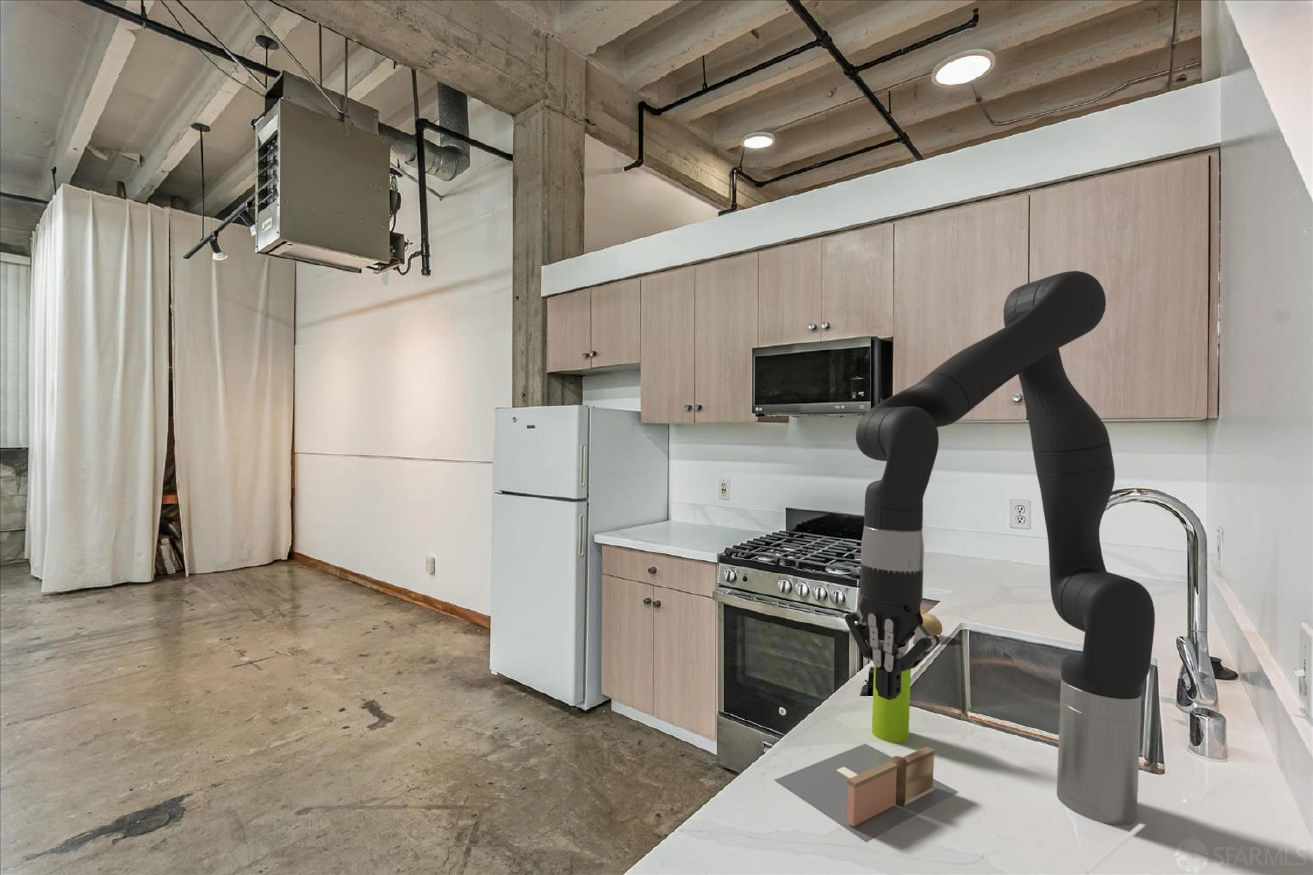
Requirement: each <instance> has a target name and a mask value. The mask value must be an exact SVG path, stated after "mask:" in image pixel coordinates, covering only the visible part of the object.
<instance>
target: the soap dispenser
mask: <svg viewBox="0 0 1313 875" xmlns="http://www.w3.org/2000/svg"><path fill="white" fill-rule="evenodd" d="M873 667H874V685H873V699H872V717H871V718H872V719H871V720H872V721H871V722H872V723H871V733H872V735H873V736H875V737H876V738H878V739H879V740H881V741H883V742H886V743H887V742H888V743H894V744H903V743H905V742H907V741H909V733H910V709H911V708H910V706H911V705H910V703H911V702H910V701H911V679H912V678H911V677H912V676H911V675H912V674H911V673H912V672H911V671H912V669H909V670H906V671H902V675H901V693H900V695H898V696H897V697H896V698H895V699H892V700H887V699H885V698H882V697H880V696H878V691H877V690H876V687H875V675H876V666H875V665H874V664H873Z"/></svg>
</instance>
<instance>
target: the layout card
mask: <svg viewBox="0 0 1313 875" xmlns="http://www.w3.org/2000/svg"><path fill="white" fill-rule="evenodd" d="M888 761H891V762H893V756H890V755H888V754H886V753H885V752H882V751H881V750H879V749H878V748H875V747H873V746H872V745H871V746H870V745H869V744H867V743H863V744H860V745H858V746H856V747H852V748H851V749H848V750H846V751H843V752H841V753H838V754H836V755H835V754H834V755H832V756H830V757H828V758H825V759H823V760H820V761H818V762H816V763H813V764H810V765H807V766H806V767H803V768H800V769H798V770H796V771H793V772H791V773H788V774H786V775H784V776H781V777H777V778H776V779H773V781H775V782H776V783H777V784H779V785H780V786H782V787H783V788H784V789H786V790H788V791H789V792H791V793H793V794H794V795H795V796H796V797H798V798H800V799H801V800H802V801H804V802H805V803H807V804H808V805H810V806H812V807H813V808H815V809H816V810H817V811H819V812H821V813H822V814H824V815H825V816H826V817H828V818H829V819H831V820H832V821H834V822H835V823H837V824H839V825H840V826H841V827H842V828H844V829H845V830H847V831H849V832H850V833H852V834H853V835H855V836H856V837H858V838H859V839H860V840H862V841H864V842H865V843H867V842H869V841H871V840H872V839H875V838H876V837H878V836H880V835H882V834H883V833H885V832H887V831H889V830H891V829H893V828H894V827H896V826H898V825H900V824H902V823H905V822H906V821H908V820H909V819H911V818H913V817H914V816H917V815H918V814H920V813H922V812H924V811H926V810H928V809H929V808H931V807H934V806H935V805H937V804H939V803H940V802H941V803H942V802H943V801H944V800H946V799H949V797H952V796H954V795H956V794H957V793H959V791H958V790H956V789H954V788H952V787H950V786H948V785H946V784H945V783H943V782H940V781H938V780H936V779H935V778H933V788H931V789H929V790H927V791H925V792H923V793H921V794H919V795H917V796H915V797H913V798H911V799H910V800H908V801H906V802H905V805H904V806H897V805H894V806H893V807H891V808H889V809H887V810H885V811H883V812H881V813H879V814H877V815H875V816H873V817H871V818H869V819H867V820H865V821H863V822H861V823H859V824H857V825H855V826H852V825H850V824H849V823H847V803H848V779H850V778H852V777H854V776H856V775H859V774H861V773H863V772H866V771H868V770H870V769H872V768H875V767H877V766H879V765H881V764H884V763H886V762H888Z"/></svg>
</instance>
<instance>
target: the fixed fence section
mask: <svg viewBox="0 0 1313 875" xmlns="http://www.w3.org/2000/svg"><path fill="white" fill-rule="evenodd" d="M935 754H936V749H934V748H932V747H929V746H925V747H922V748H920V749H918V750H916V751H914V752H911V753H909V754H906V755H905V756H899V755H895V756H892V758H893V763H895V764H897V765H898V769H897V779H896V805H897V806H904V805H905V802H906V801H908V800H910V799H911V798H913V797H915V796H917V795H919V794H921V793H923V792H925V791H927V790H929V789H931V788H933V779H934V765H935V764H934V763H935V762H934V761H935V760H934V759H935Z"/></svg>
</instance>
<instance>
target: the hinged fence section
mask: <svg viewBox="0 0 1313 875" xmlns="http://www.w3.org/2000/svg"><path fill="white" fill-rule="evenodd" d="M897 769H898V765H897V764H895V763H893V762H891V761H888V762H886V763H884V764H881V765H879V766H877V767H875V768H872V769H870V770H868V771H866V772H863V773H861V774H859V775H856V776H854V777H852V778H850V779H848V803H847V823H849V824H850V825H852V826H855V825H857V824H859V823H861V822H863V821H865V820H867V819H869V818H871V817H873V816H875V815H877V814H879V813H881V812H883V811H885V810H887V809H889V808H891V807H893V806H894V805H896V779H897Z"/></svg>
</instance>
